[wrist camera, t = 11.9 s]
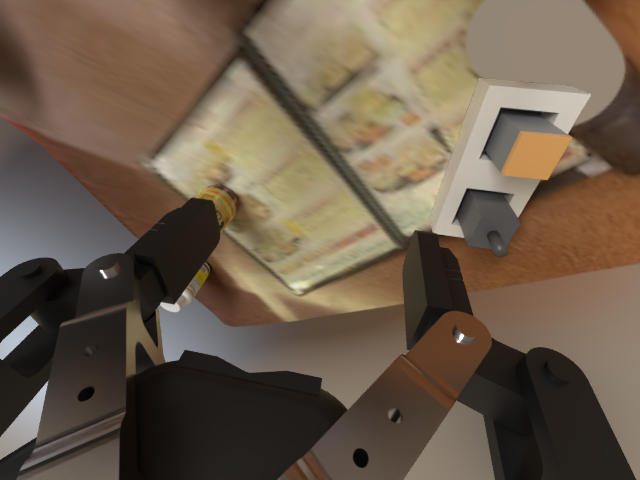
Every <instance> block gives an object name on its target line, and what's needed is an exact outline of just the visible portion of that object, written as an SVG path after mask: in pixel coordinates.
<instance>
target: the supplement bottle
mask: <svg viewBox="0 0 640 480" xmlns="http://www.w3.org/2000/svg"><path fill="white" fill-rule="evenodd" d="M209 273H210V268H209V266H208V264H207V263H206V262H205V263H204V264H203V266H202V267H201V268H200V270H199V271H198V273H197V274H196V275H195V277H194V278H193V280H192V281H191V282H190V284H189V285H188V286H187V288H186V289H185V291H184V292H183V293H182V295H181V296H180V298H179V299H178V300H177V302H176V303H175V305H173V304H168V303H163V302H161V304H160V305H161V306H162V307H163V308H164V309H166V310H168V311H171V312H178V311H180V309H181V308H182V307H183V305H187V304H189V303H190V302H191V301H192V300H193V298H194V297H195V295H196V293H197V292H198V290H199V289H200V287H201V286H202V284H203V283H204V281H205V280H206V278H207V277H208V275H209Z"/></svg>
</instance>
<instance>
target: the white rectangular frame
mask: <svg viewBox="0 0 640 480" xmlns="http://www.w3.org/2000/svg"><path fill="white" fill-rule="evenodd" d="M590 96H591V94H589V93H587V92H584V91H582V90H579V89H577V88H574V87H572V86H568V85H556V84H544V83H533V82H522V81H510V80H499V79H488V78H479V80H478V82H477V85H476V88H475V91H474V94H473V96H472V99H471V102H470V105H469V108H468V111H467V113H466V116H465V119H464V122H463V125H462V127H461V130H460V133H459V136H458V139H457V141H456V144H455V147H454V150H453V153H452V156H451V158H450V161H449V164H448V167H447V170H446V172H445V175H444V178H443V181H442V184H441V187H440V189H439V192H438V195H437V198H436V201H435V203H434V206H433V209H432V212H431V215H430V221H431V226H432V231H433V233H436V234H441V235H448V236H454V237H461V238H465V241H466V244H467V246H471V247H477V248H484V249H491V250H493V251H494V254H495V256H497V257H503V256H506V255H507V254H508V250H507V248H506V247H507V245H508V244H509V242H510V240H511V239H512V237H513V235H514V234H515V232H516V230H517V229H518V227H519V226H520V224H521V222H520V220H519V219H518V217H519V216H520V214H521V212H522V210H523V209H524V207H525V205H526V204H527V202H528V200H529V199H530V197H531V195H532V194H533V192H534V190H535V189H536V187H537V185H538V184H539V182H540V180H541V179H532V178H523V177H513V176H504V175H502V174H501V172H500V171H499V170H498V168H497V167H496V165H495V164H494V163H493V161H492V160H491V158H490V157H489V155H488V154H487V153H486V151H485V150H484V146H485V144H486V141H487V139H488V136H489V134H490V132H491V129H492V127H493V125H494V122H495V120H496V117H497V115H498V113H499V110H500V109H505V110H517V111H529V112H536V113H537V114H539V115H540V116H542V117H543V118H545V119H546V120H548V121H549V122H551V123H552V124H553V125H555V126H556V127H558V128H559V129H561V130H562V131H564V132H565V133H567V134H568V133H569V131H570V130H571V128H572V126H573V125H574V123H575V121H576V120H577V118H578V116H579V114H580V113H581V111H582V109H583V108H584V106H585V104H586V103H587V101H588V99H589V98H590Z"/></svg>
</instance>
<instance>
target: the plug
mask: <svg viewBox="0 0 640 480" xmlns="http://www.w3.org/2000/svg"><path fill="white" fill-rule="evenodd" d="M571 139H572V137H571V136H570V135H568V134H567V133H565V132H564V131H562V130H561V129H559V128H558V127H556V126H555V125H553V124H552V123H551V122H549V121H548V120H546V119H545V118H543V117H542V116H540V115H539V114H537V113H536V112H529V111H517V110H505V109H500V110H499V113H498V115H497V117H496V120H495V122H494V125H493V127H492V129H491V132H490V134H489V136H488V139H487V141H486V144H485V146H484V150H485V151H486V153H487V154H488V155H489V157H490V158H491V160H492V161H493V163H494V164H495V165H496V167H497V168H498V170H499V171H500V172H501V174H502V175H504V176H513V177H523V178H532V179H542V180H548V178H549V177H550V175H551V173H552V172H553V170H554V168H555V167H556V165H557V163H558V161H559V160H560V158H561V156H562V155H563V153H564V151H565V150H566V148H567V146H568V145H569V143H570V141H571Z"/></svg>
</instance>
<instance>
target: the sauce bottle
mask: <svg viewBox="0 0 640 480" xmlns="http://www.w3.org/2000/svg"><path fill="white" fill-rule="evenodd" d="M194 198H201V199H208V200H212V201H213V202H214V204H215V208H216V213H217V218H218V222H219V227H220V233H221V232H222V231H223V230H224V229H225V227H226V226H227V225H228V224H229V223H230V221H231V220H232V219H233V218H234V216H235V214H236V213H237V211H238V208H239V203H238V200H237V198H236V196H235V194H234V193H233V192H232V191H231V190H229V189H228V188H226V187H224V186H222V185H212V186H209V187H207V188H205V189H203V190H202V191H201V192H200V193H199V194H198V195H196V196H195V197H194Z"/></svg>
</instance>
